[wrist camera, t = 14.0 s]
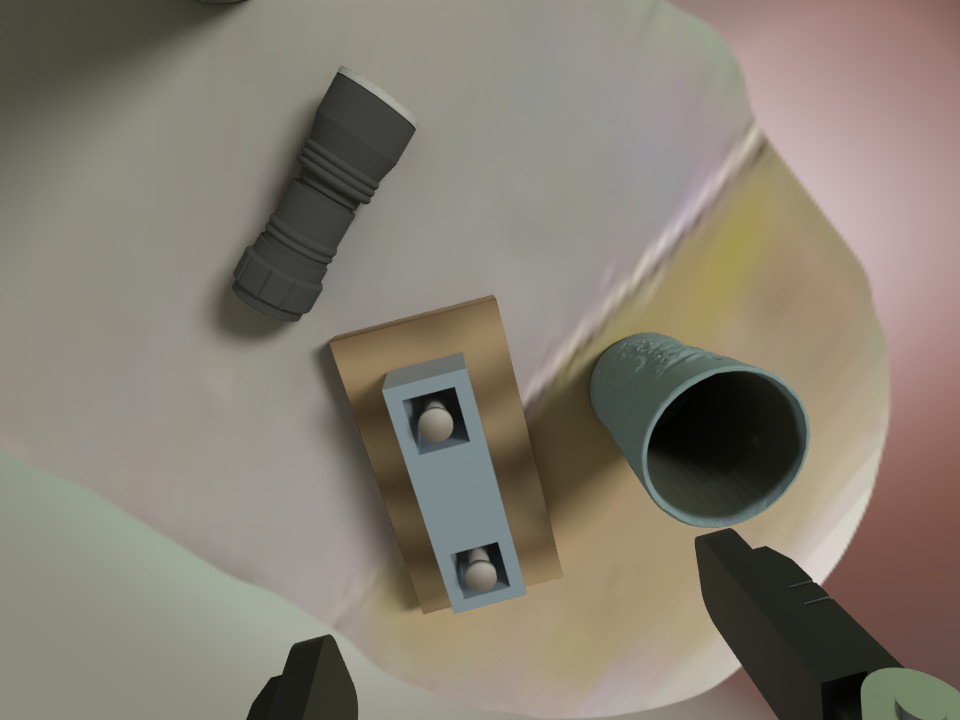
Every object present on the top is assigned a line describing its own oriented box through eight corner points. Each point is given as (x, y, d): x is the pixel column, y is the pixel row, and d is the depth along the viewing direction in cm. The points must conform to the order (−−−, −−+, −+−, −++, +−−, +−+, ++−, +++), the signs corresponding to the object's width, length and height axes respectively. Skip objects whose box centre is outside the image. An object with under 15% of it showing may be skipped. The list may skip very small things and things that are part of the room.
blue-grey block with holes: (387, 371, 36) (381, 390, 32) (462, 351, 36) (466, 368, 32) (452, 576, 41) (454, 613, 37) (518, 559, 41) (526, 594, 37)
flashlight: (311, 320, 37) (290, 337, 32) (241, 280, 36) (208, 291, 31) (421, 129, 34) (418, 114, 29) (349, 79, 33) (332, 53, 28)
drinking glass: (577, 331, 39) (637, 380, 27) (706, 313, 39) (819, 353, 28) (586, 451, 41) (643, 542, 30) (706, 433, 42) (808, 515, 30)
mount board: (334, 336, 37) (312, 363, 30) (493, 294, 37) (505, 312, 31) (423, 596, 44) (421, 665, 37) (557, 560, 44) (579, 623, 37)
